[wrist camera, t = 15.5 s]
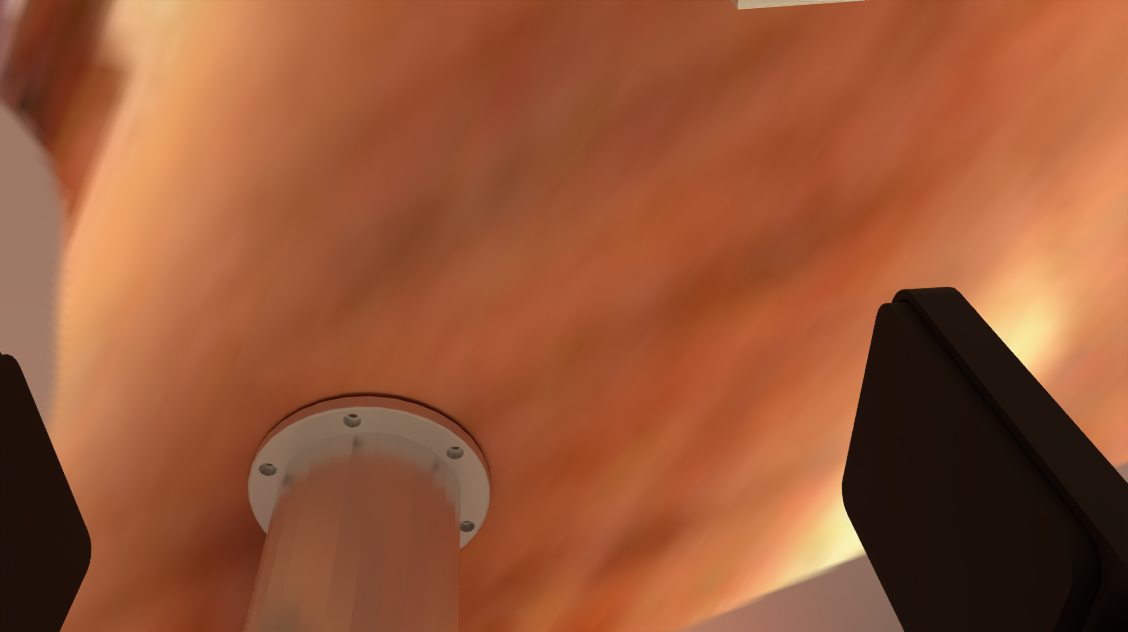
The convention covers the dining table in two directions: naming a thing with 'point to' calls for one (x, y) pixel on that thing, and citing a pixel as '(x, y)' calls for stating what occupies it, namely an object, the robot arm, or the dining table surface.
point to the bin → (779, 3)
